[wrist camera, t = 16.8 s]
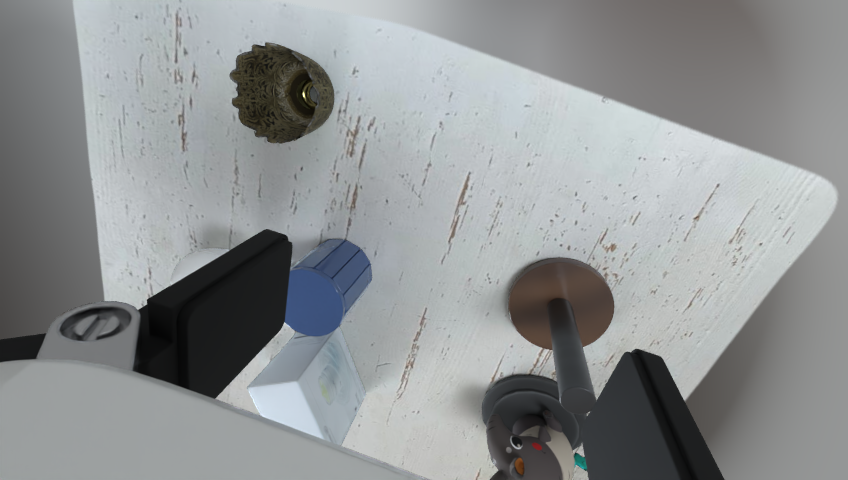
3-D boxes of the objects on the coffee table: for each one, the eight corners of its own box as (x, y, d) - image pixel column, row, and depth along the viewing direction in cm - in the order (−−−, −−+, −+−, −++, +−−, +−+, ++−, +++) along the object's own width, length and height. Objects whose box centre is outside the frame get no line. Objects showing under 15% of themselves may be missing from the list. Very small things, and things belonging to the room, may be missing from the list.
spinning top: (215, 249, 48) (124, 296, 37) (253, 214, 45) (167, 255, 34) (257, 297, 49) (182, 357, 38) (298, 266, 46) (228, 322, 35)
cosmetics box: (369, 393, 50) (334, 465, 41) (325, 397, 52) (282, 467, 43) (341, 322, 47) (296, 382, 38) (295, 330, 49) (242, 388, 40)
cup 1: (351, 139, 39) (313, 151, 32) (282, 127, 40) (231, 136, 33) (356, 57, 36) (316, 49, 29) (283, 46, 37) (226, 36, 30)
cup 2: (300, 256, 45) (258, 288, 38) (347, 228, 43) (312, 256, 35) (335, 306, 47) (302, 346, 39) (384, 282, 44) (357, 320, 37)
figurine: (540, 468, 49) (547, 575, 38) (462, 411, 48) (446, 503, 37) (609, 418, 44) (639, 524, 33) (524, 355, 43) (526, 441, 33)
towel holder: (491, 282, 41) (479, 369, 29) (584, 240, 38) (618, 318, 25) (536, 356, 43) (544, 469, 30) (628, 323, 40) (682, 435, 27)
